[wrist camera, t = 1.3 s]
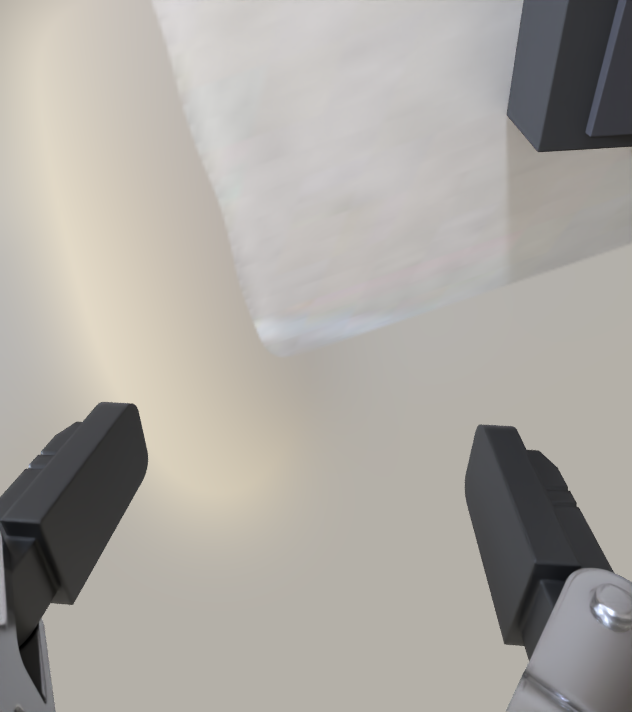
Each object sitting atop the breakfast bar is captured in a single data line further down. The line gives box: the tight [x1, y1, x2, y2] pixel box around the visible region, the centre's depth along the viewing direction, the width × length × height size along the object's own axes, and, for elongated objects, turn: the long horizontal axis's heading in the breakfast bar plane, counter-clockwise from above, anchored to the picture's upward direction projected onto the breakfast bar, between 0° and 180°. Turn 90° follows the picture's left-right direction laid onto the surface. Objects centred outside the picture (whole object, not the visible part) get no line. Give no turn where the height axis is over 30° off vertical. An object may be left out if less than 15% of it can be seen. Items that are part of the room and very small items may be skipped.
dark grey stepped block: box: [507, 0, 632, 152], centre depth 22 cm, size 6×10×9 cm, turn 5°
